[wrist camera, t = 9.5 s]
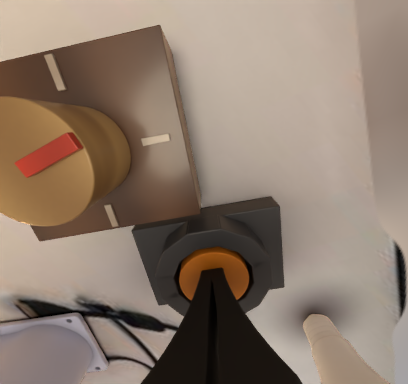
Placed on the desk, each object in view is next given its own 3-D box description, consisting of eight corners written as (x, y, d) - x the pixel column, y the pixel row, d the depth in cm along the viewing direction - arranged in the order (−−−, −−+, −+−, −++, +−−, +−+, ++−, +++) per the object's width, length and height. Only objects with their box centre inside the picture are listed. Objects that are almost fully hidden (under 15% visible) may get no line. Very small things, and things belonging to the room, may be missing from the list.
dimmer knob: (80, 205, 11) (17, 248, 7) (23, 132, 9) (-92, 138, 6) (147, 172, 10) (116, 200, 6) (96, 88, 9) (19, 63, 5)
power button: (189, 290, 15) (187, 311, 13) (175, 241, 13) (171, 258, 11) (246, 281, 14) (252, 302, 13) (239, 231, 13) (245, 247, 11)
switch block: (163, 290, 17) (153, 330, 14) (138, 217, 14) (119, 245, 11) (276, 273, 16) (295, 310, 13) (271, 194, 14) (292, 216, 11)
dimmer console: (71, 218, 14) (37, 243, 11) (8, 86, 11) (-61, 73, 8) (201, 195, 14) (200, 215, 11) (170, 49, 11) (159, 22, 8)
